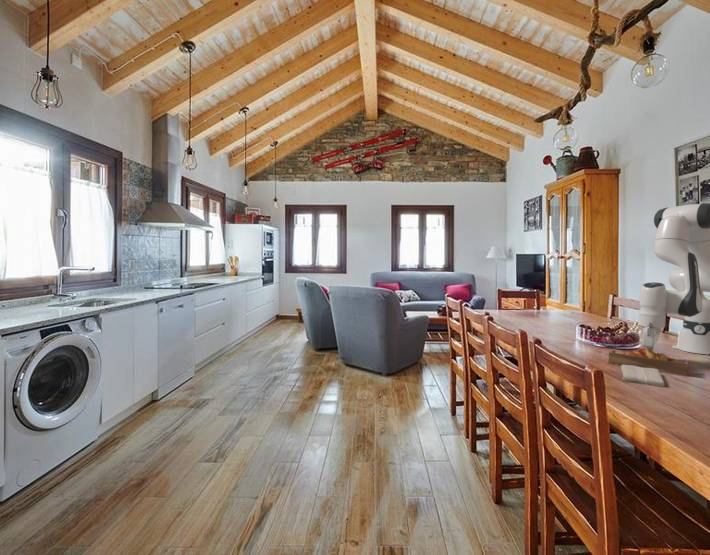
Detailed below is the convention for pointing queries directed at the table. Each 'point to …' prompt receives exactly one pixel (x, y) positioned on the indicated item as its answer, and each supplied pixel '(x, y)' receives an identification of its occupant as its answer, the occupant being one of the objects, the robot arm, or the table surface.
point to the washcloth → (642, 375)
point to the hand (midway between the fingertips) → (649, 354)
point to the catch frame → (649, 363)
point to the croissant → (650, 355)
